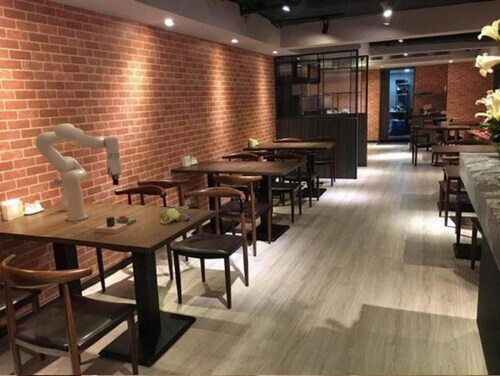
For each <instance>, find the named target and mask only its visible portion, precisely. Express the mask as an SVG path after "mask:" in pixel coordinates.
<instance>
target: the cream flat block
mask: <svg viewBox="0 0 500 376" xmlns="http://www.w3.org/2000/svg"><path fill="white" fill-rule="evenodd" d="M126 229H128V226H127V224H117V223H115V226H113V227H107V222H106V223H102V224H101V225H98V226H96V227H94V232H95V233H105V234H117V233H120V232H121V231H124V230H126Z"/></svg>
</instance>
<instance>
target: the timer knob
mask: <svg viewBox="0 0 500 376" xmlns="http://www.w3.org/2000/svg"><path fill="white" fill-rule="evenodd" d="M105 220H106V221H105V222H106V223H107V227H113V226H115V221H114V220H115V216H113V215H111V216H107V217H106V218H105Z"/></svg>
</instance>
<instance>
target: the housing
mask: <svg viewBox="0 0 500 376" xmlns="http://www.w3.org/2000/svg"><path fill="white" fill-rule="evenodd" d="M125 217H126V218H124V219H119V217H117V218H116V219H114V221H115V223H117V224H127V227H128V226H130V225H132V224H134V223H136V222H137V219H136V218H129V217H128V216H125Z"/></svg>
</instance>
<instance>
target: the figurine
mask: <svg viewBox="0 0 500 376" xmlns="http://www.w3.org/2000/svg"><path fill="white" fill-rule="evenodd" d="M189 208H190V206H187V205H186V206H185V205H183V206H176V207H173V208H163V210H162V211H161V213H160V216H161V217H162V216H163V215H164V214H165V213H166V216H165V217H164V221H163V218H161V219H160V223H161V224H162V225H167V224H169V223H170V222H174V221H179V218H180V217H183V219H184V220H185V221H189V220H190V218H191V216H190V215H189V214H185V213H179V211H178V210H181V209H182V210H185V211H187V210H189Z"/></svg>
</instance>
